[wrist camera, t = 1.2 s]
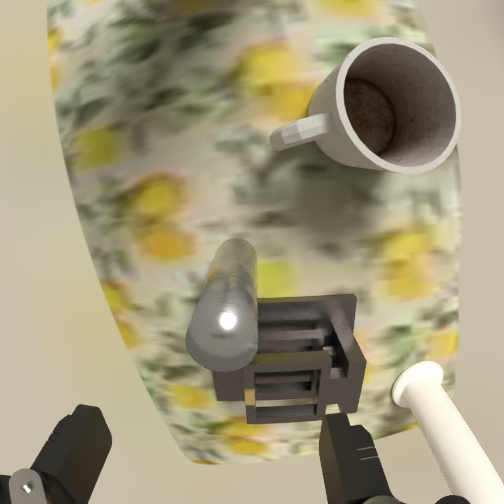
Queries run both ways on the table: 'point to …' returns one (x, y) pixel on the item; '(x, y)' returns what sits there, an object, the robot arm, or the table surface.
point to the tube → (227, 311)
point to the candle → (448, 435)
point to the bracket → (299, 360)
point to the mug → (381, 110)
